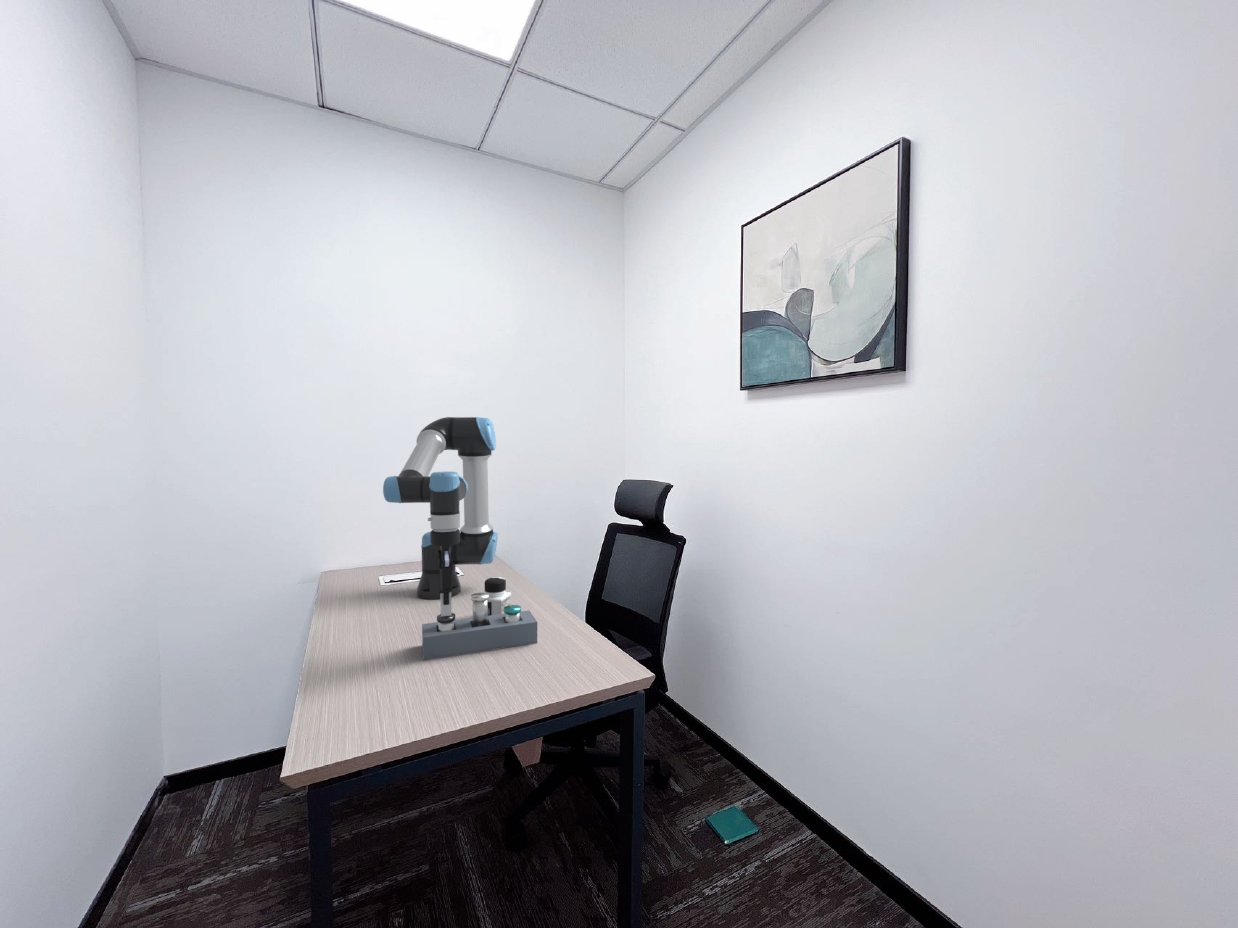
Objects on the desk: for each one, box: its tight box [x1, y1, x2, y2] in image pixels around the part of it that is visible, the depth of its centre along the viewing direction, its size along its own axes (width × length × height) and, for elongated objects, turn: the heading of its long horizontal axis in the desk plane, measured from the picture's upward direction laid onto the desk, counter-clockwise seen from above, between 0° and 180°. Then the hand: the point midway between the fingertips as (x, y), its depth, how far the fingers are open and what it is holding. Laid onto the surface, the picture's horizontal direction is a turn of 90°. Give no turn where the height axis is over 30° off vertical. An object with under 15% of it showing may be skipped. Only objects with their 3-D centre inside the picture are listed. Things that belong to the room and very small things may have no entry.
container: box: [484, 576, 512, 616], centre depth 160 cm, size 8×8×13 cm
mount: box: [421, 610, 538, 661], centre depth 141 cm, size 10×30×6 cm, turn 113°
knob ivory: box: [470, 592, 489, 627], centre depth 141 cm, size 5×5×8 cm
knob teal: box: [504, 604, 522, 623], centre depth 145 cm, size 5×5×8 cm
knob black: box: [436, 612, 456, 632], centre depth 138 cm, size 5×5×8 cm
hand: (446, 615), depth 137 cm, fingers closed
